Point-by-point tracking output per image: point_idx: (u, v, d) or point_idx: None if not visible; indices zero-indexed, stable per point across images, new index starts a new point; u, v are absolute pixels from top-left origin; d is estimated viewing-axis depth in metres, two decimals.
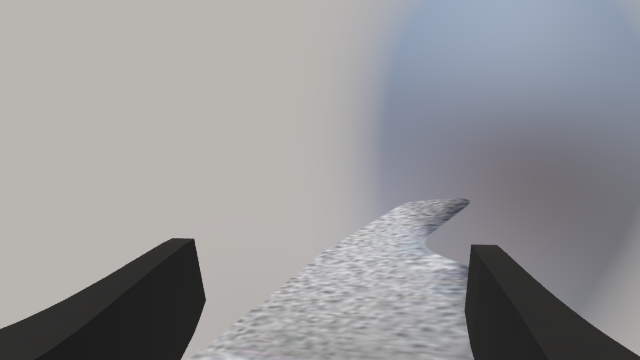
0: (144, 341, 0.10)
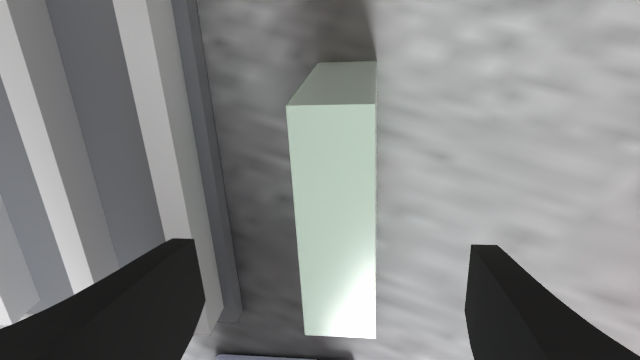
0: (144, 341, 0.10)
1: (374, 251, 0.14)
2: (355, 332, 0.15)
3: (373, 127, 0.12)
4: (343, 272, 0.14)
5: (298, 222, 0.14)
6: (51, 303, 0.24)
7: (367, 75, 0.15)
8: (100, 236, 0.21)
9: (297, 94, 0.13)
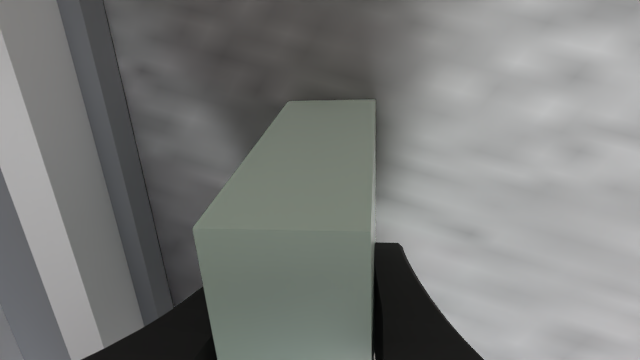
0: None
1: None
2: None
3: (367, 272, 0.06)
4: None
5: None
6: None
7: (359, 135, 0.09)
8: None
9: (228, 187, 0.07)
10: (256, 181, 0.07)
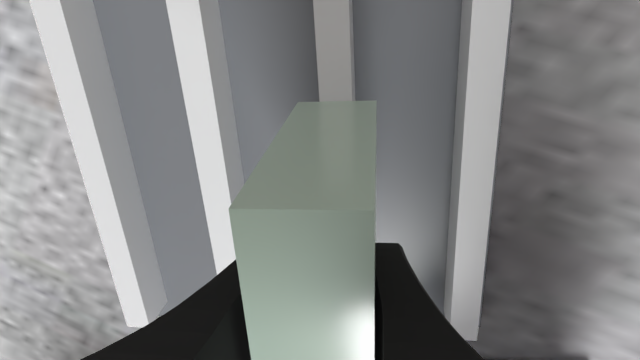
0: None
1: None
2: None
3: (371, 244, 0.07)
4: None
5: None
6: None
7: (363, 132, 0.11)
8: None
9: (254, 176, 0.09)
10: (277, 171, 0.09)
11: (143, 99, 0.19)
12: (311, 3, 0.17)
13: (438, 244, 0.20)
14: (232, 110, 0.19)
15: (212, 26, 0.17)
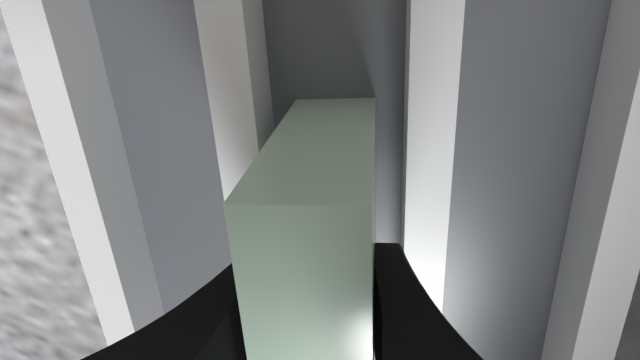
0: None
1: None
2: None
3: (368, 241, 0.07)
4: None
5: None
6: None
7: (361, 129, 0.10)
8: None
9: (249, 172, 0.08)
10: (273, 167, 0.09)
11: (154, 127, 0.15)
12: (393, 2, 0.12)
13: (536, 318, 0.16)
14: None
15: (255, 33, 0.12)
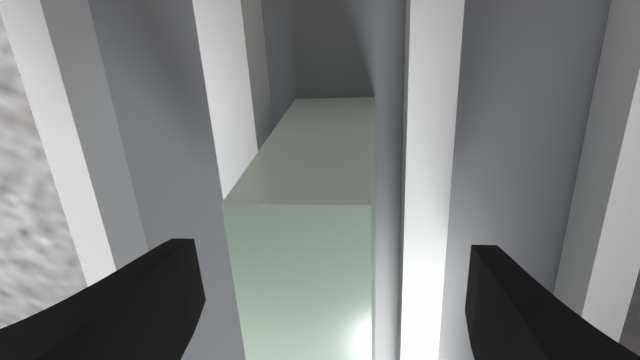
0: (144, 341, 0.10)
1: None
2: None
3: (367, 240, 0.07)
4: None
5: None
6: None
7: (360, 128, 0.10)
8: None
9: (248, 172, 0.08)
10: (272, 167, 0.09)
11: (153, 127, 0.14)
12: (393, 1, 0.12)
13: None
14: None
15: (254, 32, 0.12)
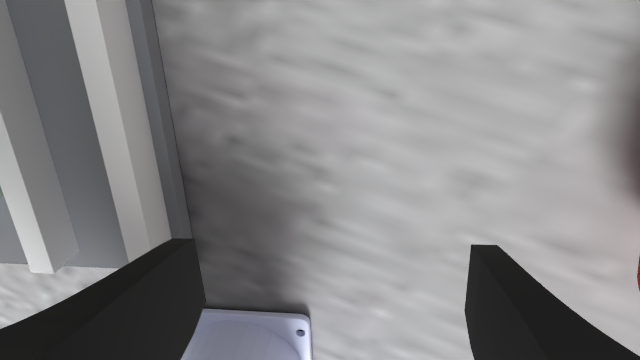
0: (144, 341, 0.10)
1: None
2: None
3: None
4: None
5: None
6: (1, 251, 0.24)
7: None
8: (45, 176, 0.21)
9: None
10: None
11: None
12: None
13: None
14: None
15: None
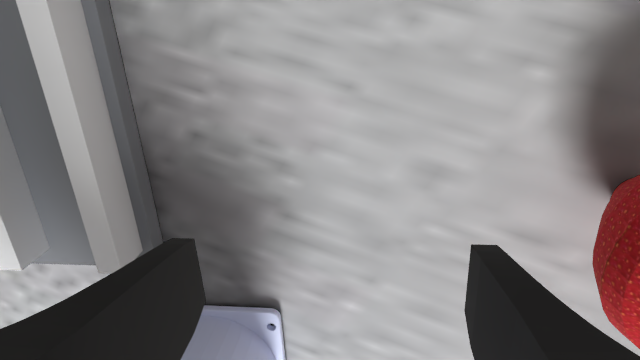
0: (144, 341, 0.10)
1: None
2: None
3: None
4: None
5: None
6: None
7: None
8: (11, 173, 0.21)
9: None
10: None
11: None
12: None
13: None
14: None
15: None
